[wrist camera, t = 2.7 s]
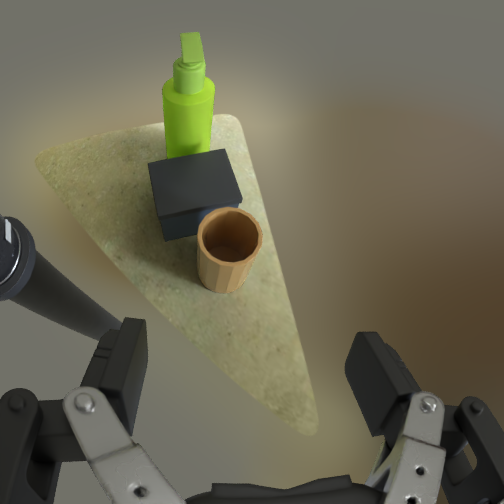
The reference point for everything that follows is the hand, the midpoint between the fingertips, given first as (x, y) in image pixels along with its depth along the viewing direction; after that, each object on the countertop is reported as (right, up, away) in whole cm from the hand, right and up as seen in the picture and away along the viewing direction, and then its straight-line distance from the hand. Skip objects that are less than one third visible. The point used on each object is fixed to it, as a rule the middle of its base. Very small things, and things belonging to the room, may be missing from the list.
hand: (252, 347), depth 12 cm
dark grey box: (-8, +9, +29) cm, 31 cm away
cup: (-4, +1, +27) cm, 27 cm away
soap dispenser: (-9, +16, +32) cm, 37 cm away
